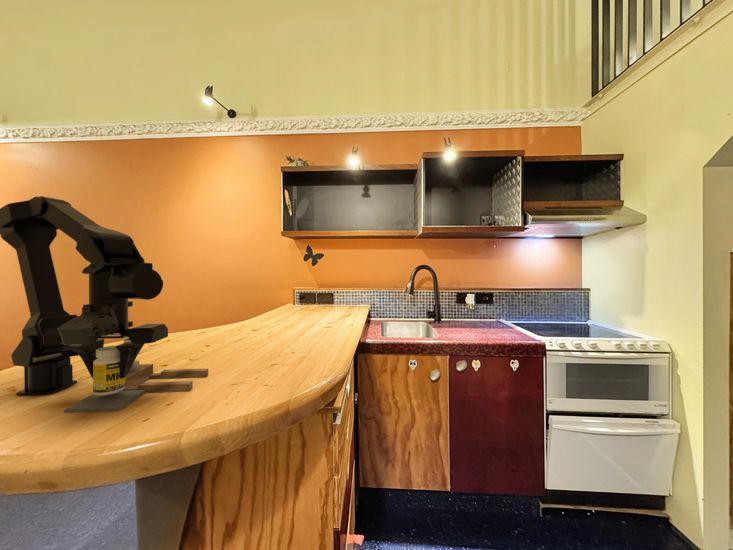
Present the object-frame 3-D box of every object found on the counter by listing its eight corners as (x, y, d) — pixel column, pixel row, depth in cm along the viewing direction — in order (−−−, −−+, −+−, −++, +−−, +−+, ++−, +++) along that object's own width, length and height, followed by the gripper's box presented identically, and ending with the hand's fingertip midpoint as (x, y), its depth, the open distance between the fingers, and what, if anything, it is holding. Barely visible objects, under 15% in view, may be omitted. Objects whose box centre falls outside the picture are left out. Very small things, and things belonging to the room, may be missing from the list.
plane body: (109, 393, 61) (108, 369, 61) (139, 377, 70) (139, 356, 70) (189, 391, 62) (189, 367, 62) (208, 375, 72) (208, 354, 72)
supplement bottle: (106, 397, 55) (106, 352, 55) (86, 394, 56) (85, 350, 56) (131, 387, 60) (131, 345, 59) (112, 385, 60) (112, 344, 60)
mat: (64, 412, 53) (64, 409, 53) (103, 391, 62) (103, 388, 62) (118, 410, 54) (118, 407, 54) (149, 390, 63) (149, 387, 63)
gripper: (9, 302, 48) (11, 397, 49) (132, 302, 50) (133, 393, 51) (70, 296, 59) (71, 373, 60) (169, 296, 61) (169, 371, 62)
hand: (109, 377), depth 58 cm, fingers closed on supplement bottle, 5 cm apart
